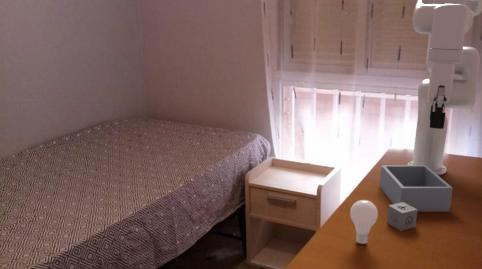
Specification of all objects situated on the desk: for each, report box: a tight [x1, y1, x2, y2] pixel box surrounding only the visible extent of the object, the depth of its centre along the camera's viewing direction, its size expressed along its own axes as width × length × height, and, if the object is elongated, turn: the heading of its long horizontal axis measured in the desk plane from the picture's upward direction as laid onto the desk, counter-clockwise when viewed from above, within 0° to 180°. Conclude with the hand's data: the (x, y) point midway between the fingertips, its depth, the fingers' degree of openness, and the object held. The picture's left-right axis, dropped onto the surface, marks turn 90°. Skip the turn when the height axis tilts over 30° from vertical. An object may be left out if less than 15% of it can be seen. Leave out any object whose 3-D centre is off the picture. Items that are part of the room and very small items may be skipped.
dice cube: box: [386, 202, 418, 232], centre depth 118 cm, size 5×5×5 cm
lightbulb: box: [349, 199, 379, 245], centre depth 108 cm, size 6×6×11 cm
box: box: [379, 164, 454, 213], centre depth 133 cm, size 18×14×7 cm
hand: (436, 124), depth 116 cm, fingers open, 9 cm apart
